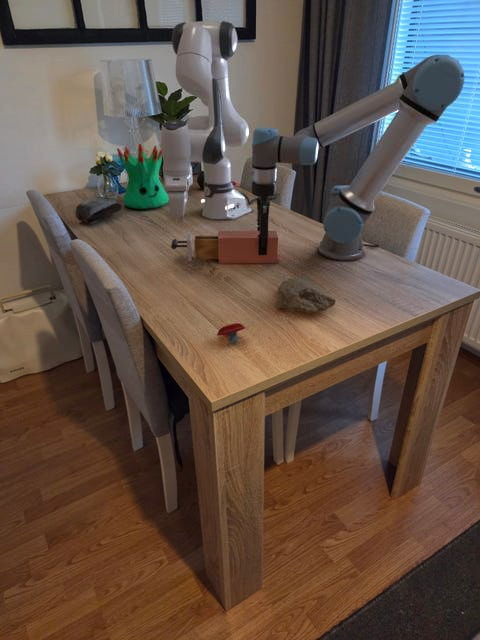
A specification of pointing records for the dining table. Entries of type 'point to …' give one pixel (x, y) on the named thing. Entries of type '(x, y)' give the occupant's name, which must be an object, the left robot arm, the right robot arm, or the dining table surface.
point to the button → (231, 331)
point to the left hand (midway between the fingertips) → (181, 221)
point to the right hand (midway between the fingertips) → (261, 249)
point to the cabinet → (246, 247)
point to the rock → (96, 209)
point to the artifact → (302, 296)
